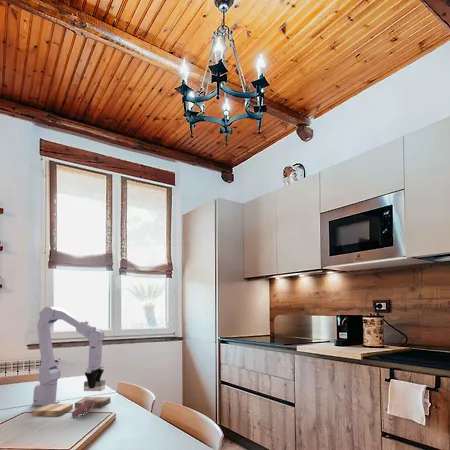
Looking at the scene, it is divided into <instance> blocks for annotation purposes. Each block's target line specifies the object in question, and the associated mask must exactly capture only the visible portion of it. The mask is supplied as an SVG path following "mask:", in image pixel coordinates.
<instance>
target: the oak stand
mask: <svg viewBox="0 0 450 450" xmlns="http://www.w3.org/2000/svg"><path fill="white" fill-rule="evenodd" d="M73 405H74V404H73V403H56V404H45V405H40V406H39V407H37V408H35V409H32V410H31V416H32V417H59V416H58V415H61V414H63V413H64V414H66V413H68V412H70V411H71V410H73V407H74V406H73ZM65 412H66V413H65ZM64 414H63V415H64ZM61 416H62V415H61Z"/></svg>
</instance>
